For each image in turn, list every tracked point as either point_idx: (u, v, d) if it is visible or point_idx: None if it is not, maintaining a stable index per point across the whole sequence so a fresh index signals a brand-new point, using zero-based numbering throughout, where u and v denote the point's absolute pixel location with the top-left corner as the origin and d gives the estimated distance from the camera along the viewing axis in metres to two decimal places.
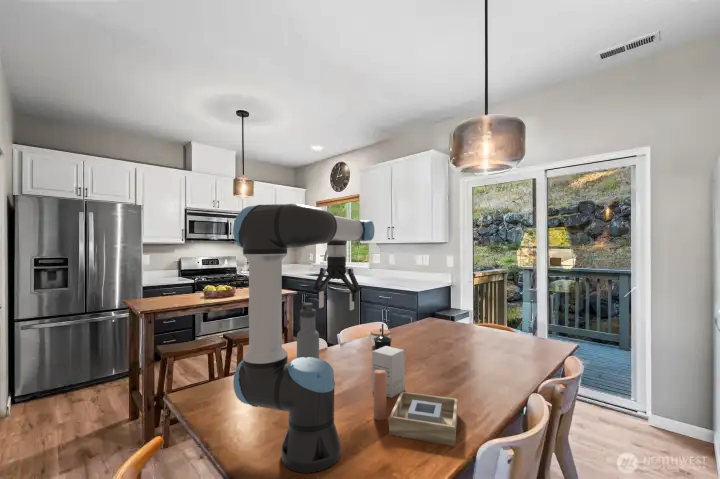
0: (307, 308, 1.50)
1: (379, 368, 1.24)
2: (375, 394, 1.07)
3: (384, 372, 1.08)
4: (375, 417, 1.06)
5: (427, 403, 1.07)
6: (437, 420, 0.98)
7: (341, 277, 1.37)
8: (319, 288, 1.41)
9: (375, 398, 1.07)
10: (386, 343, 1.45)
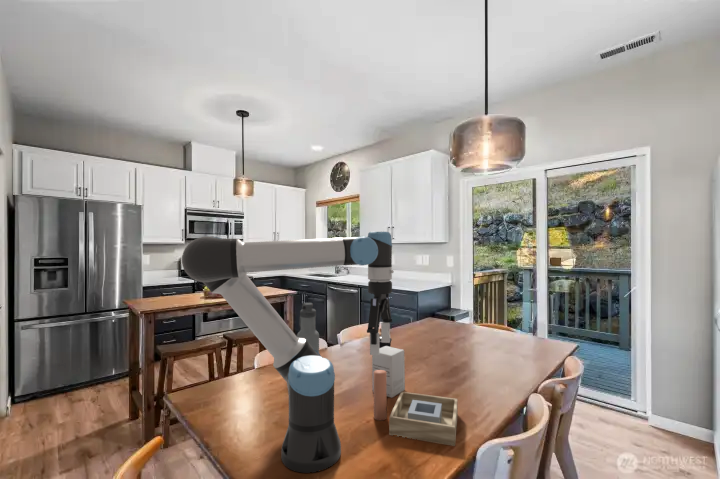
0: (307, 308, 1.50)
1: (379, 368, 1.24)
2: (375, 394, 1.07)
3: (384, 372, 1.08)
4: (375, 417, 1.06)
5: (427, 403, 1.07)
6: (437, 420, 0.98)
7: None
8: None
9: (375, 398, 1.07)
10: (386, 343, 1.45)
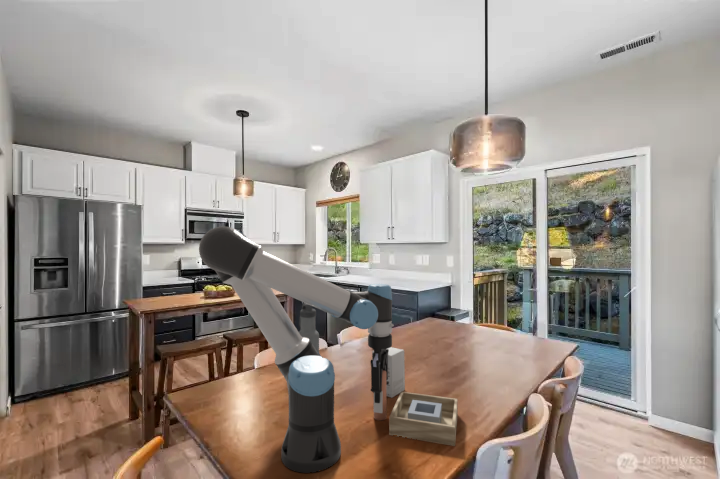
0: (307, 308, 1.50)
1: None
2: None
3: (384, 372, 1.08)
4: (375, 417, 1.06)
5: (427, 403, 1.07)
6: (437, 420, 0.98)
7: None
8: None
9: None
10: None
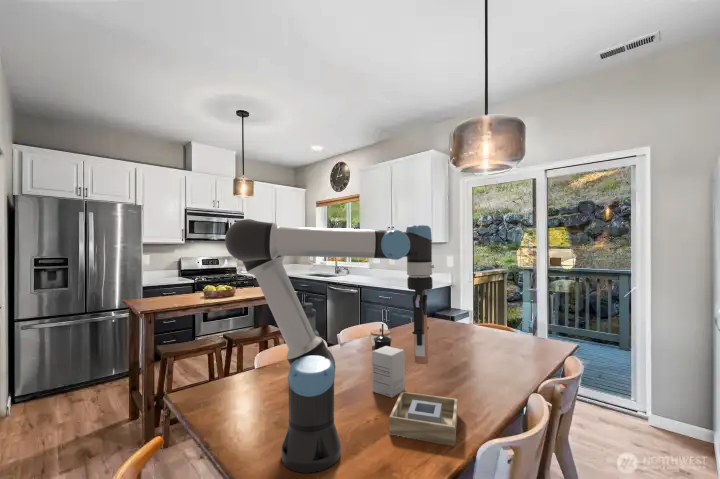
0: (307, 308, 1.50)
1: (379, 368, 1.24)
2: None
3: (425, 315, 1.04)
4: (417, 361, 1.03)
5: (427, 403, 1.07)
6: (437, 420, 0.98)
7: None
8: None
9: None
10: (386, 343, 1.45)
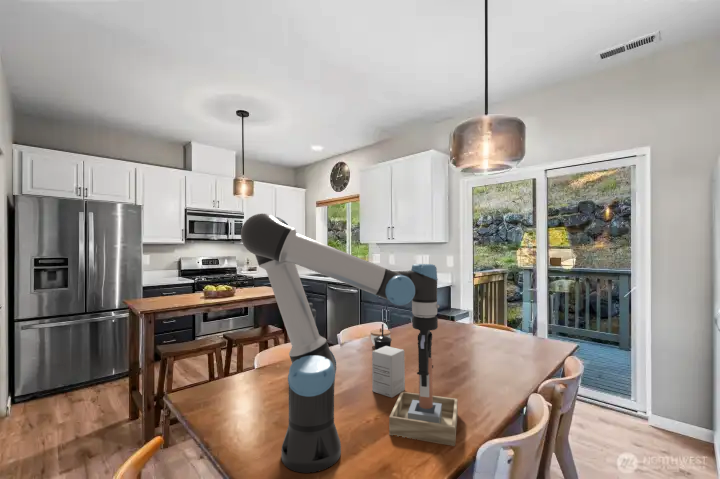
0: None
1: (379, 368, 1.24)
2: None
3: (430, 359, 1.03)
4: (421, 406, 1.02)
5: None
6: (437, 420, 0.98)
7: None
8: None
9: None
10: (386, 343, 1.45)
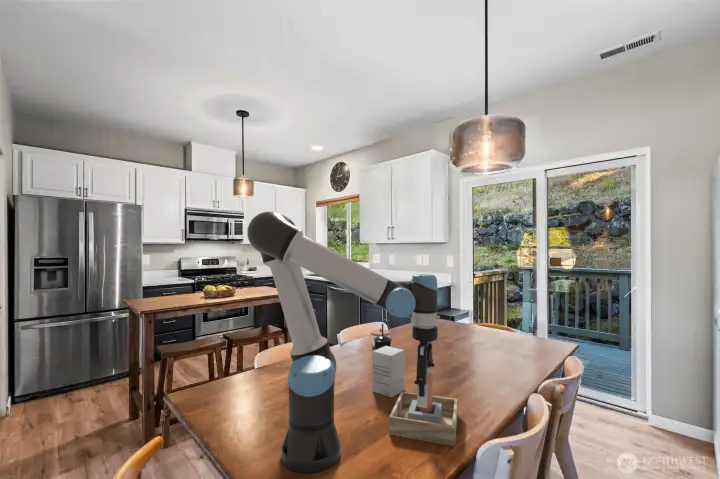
0: None
1: (379, 368, 1.24)
2: None
3: (430, 374, 1.03)
4: None
5: None
6: (437, 420, 0.98)
7: None
8: None
9: None
10: (386, 343, 1.45)
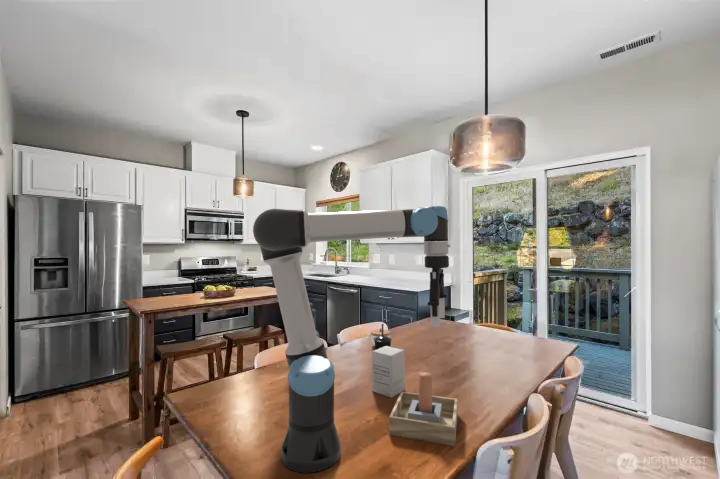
0: None
1: (379, 368, 1.24)
2: (421, 397, 1.02)
3: (429, 375, 1.03)
4: None
5: None
6: (437, 420, 0.98)
7: None
8: None
9: (421, 402, 1.02)
10: (386, 343, 1.45)
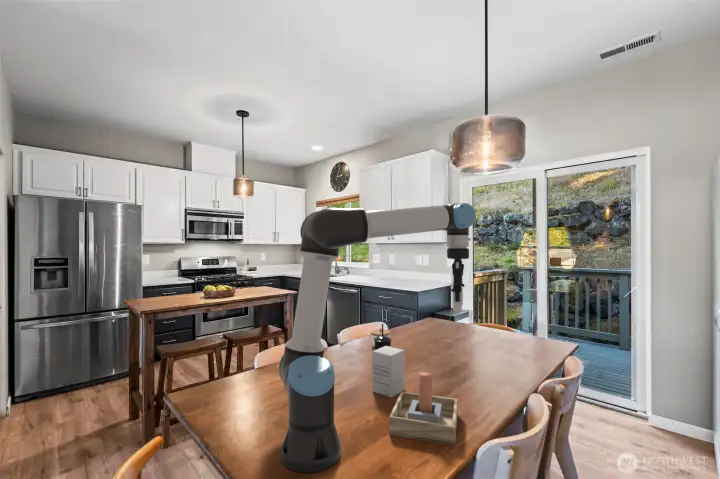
0: None
1: (379, 368, 1.24)
2: (421, 397, 1.02)
3: (429, 375, 1.03)
4: None
5: None
6: (437, 420, 0.98)
7: None
8: None
9: (421, 402, 1.02)
10: (386, 343, 1.45)
